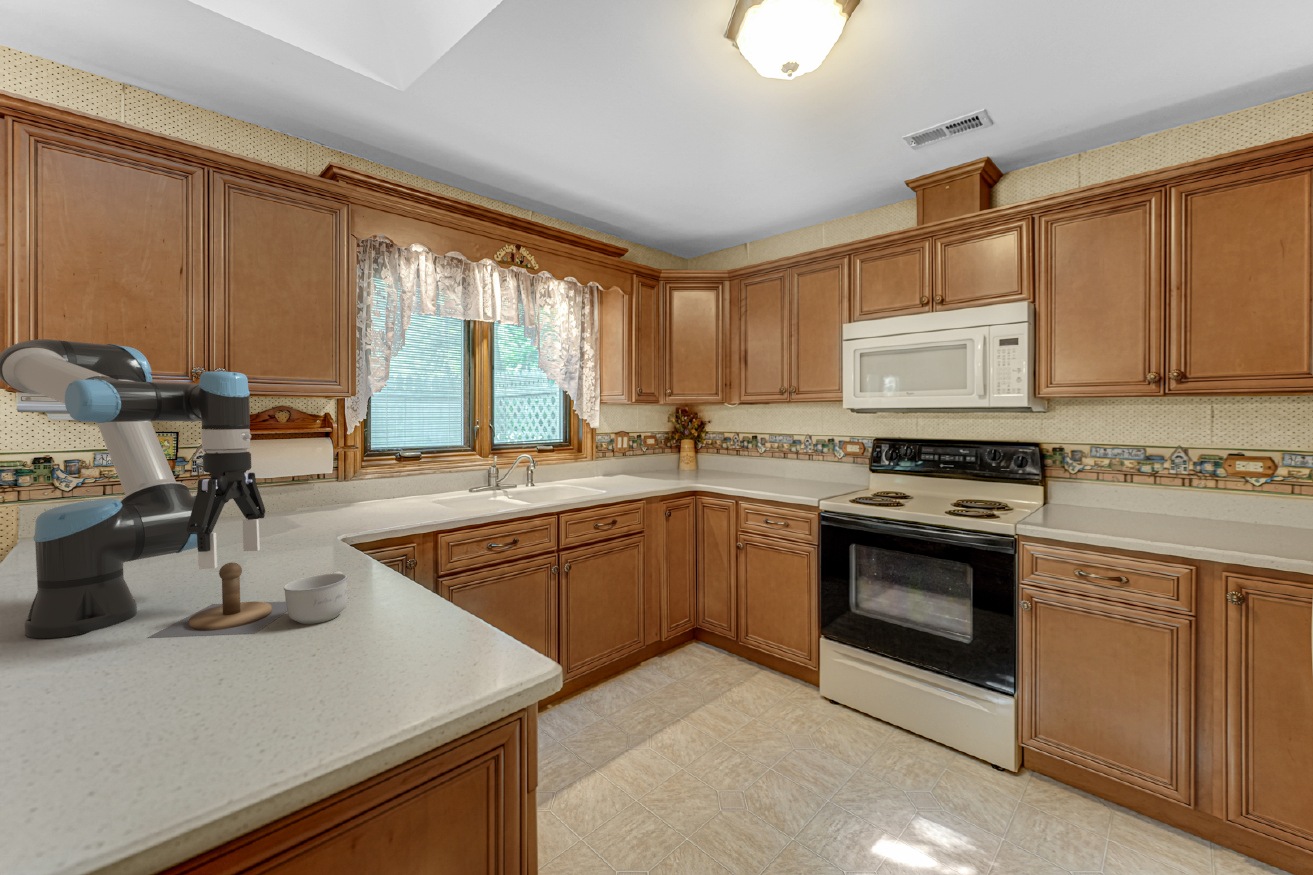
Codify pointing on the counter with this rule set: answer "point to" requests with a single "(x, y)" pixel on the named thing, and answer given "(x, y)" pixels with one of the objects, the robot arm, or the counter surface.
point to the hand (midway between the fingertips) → (231, 558)
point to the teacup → (316, 597)
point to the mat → (184, 630)
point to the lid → (230, 605)
